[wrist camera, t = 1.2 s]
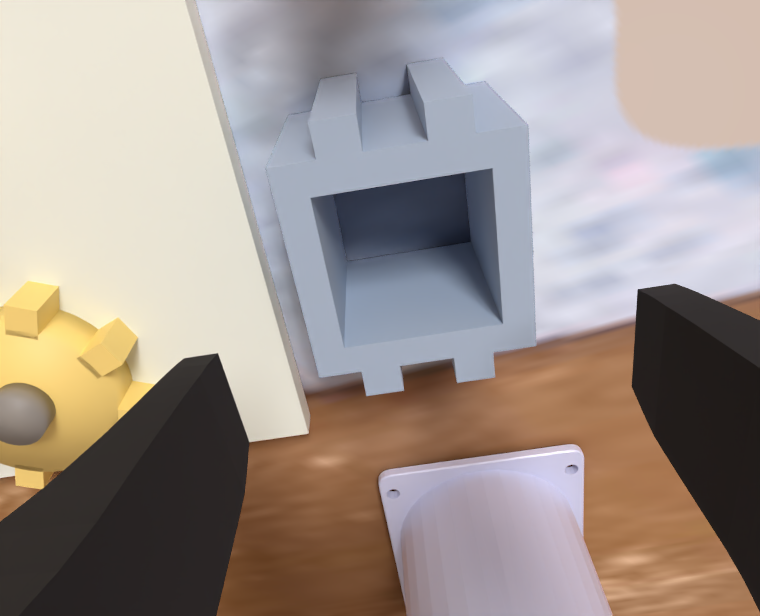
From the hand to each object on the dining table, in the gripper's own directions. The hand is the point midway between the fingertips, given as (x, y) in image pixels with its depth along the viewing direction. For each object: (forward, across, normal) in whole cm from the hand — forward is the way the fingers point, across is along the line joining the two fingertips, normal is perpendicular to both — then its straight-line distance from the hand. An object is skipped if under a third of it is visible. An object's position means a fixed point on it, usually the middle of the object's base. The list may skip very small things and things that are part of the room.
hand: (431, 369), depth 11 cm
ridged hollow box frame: (+9, 0, 0) cm, 9 cm away
